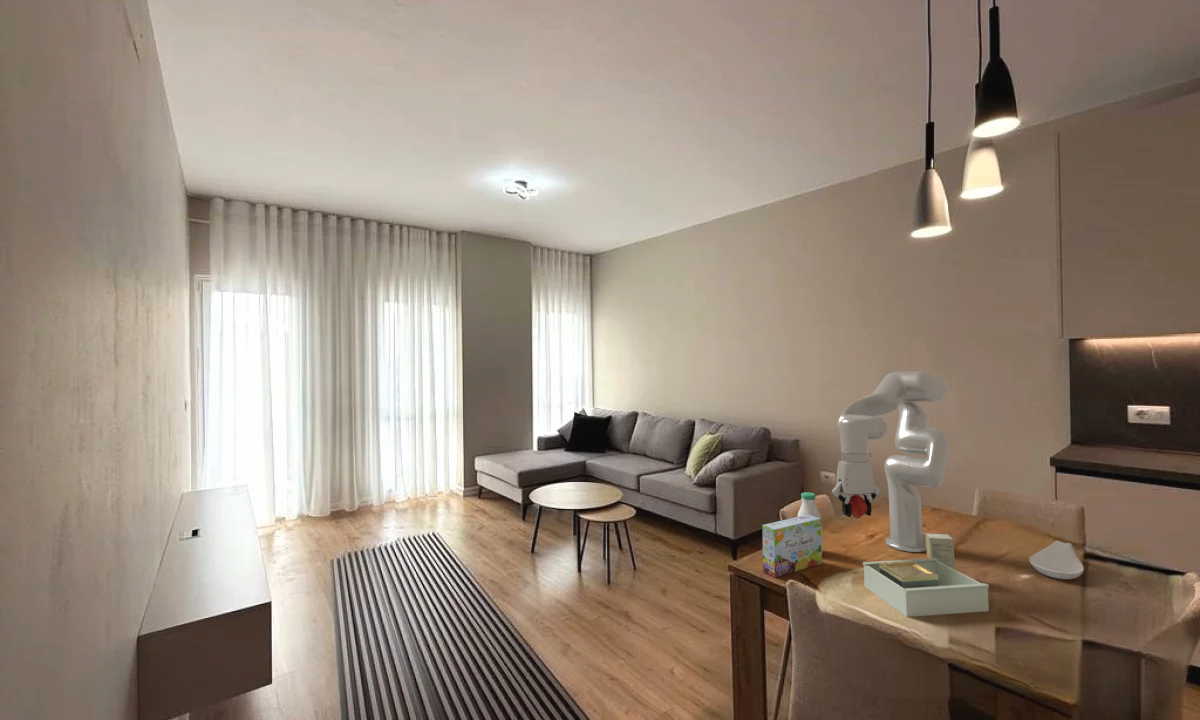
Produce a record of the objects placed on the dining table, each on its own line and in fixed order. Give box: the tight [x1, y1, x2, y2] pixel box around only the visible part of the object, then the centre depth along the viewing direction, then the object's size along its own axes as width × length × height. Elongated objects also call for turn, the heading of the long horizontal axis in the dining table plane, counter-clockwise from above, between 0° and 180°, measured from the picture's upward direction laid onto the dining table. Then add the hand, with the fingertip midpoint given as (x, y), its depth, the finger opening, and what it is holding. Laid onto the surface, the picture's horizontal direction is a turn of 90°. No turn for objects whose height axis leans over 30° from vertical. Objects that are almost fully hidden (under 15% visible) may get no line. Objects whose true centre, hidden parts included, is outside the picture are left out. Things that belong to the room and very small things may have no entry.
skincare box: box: [925, 532, 956, 570], centre depth 144 cm, size 6×4×12 cm
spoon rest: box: [1028, 540, 1085, 581], centre depth 146 cm, size 24×12×7 cm, turn 129°
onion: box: [849, 494, 868, 520], centre depth 150 cm, size 6×6×8 cm
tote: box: [862, 557, 990, 618], centre depth 130 cm, size 22×18×7 cm
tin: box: [879, 561, 938, 589], centre depth 129 cm, size 10×9×8 cm
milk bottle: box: [797, 491, 824, 553], centre depth 166 cm, size 8×8×20 cm
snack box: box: [761, 515, 823, 578], centre depth 153 cm, size 21×6×15 cm, turn 117°
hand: (857, 514), depth 150 cm, fingers closed on onion, 5 cm apart
